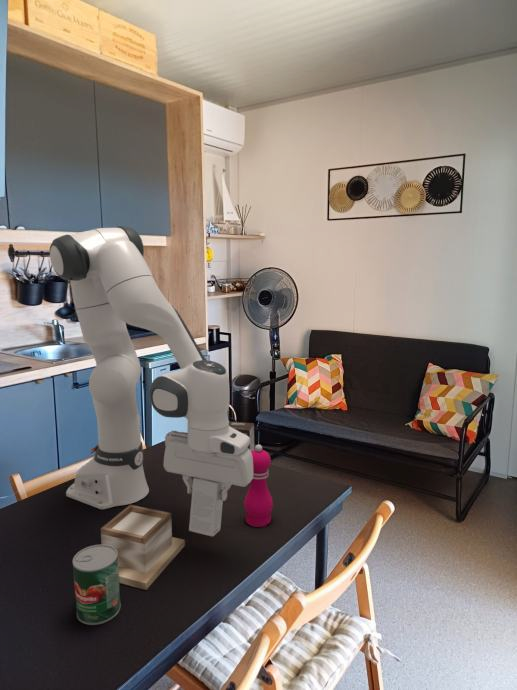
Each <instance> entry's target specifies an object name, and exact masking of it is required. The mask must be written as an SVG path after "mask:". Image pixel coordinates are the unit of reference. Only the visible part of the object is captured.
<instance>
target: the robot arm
mask: <svg viewBox="0 0 517 690" xmlns="http://www.w3.org/2000/svg"><path fill="white" fill-rule="evenodd" d="M144 250H145V248H144V243H143V240H142V238H141V235H140V234H139V232H137V230H135V228H133V227H129V226H125V225H124V226H122V225H121V226H119V225H118V226H116V227H100V228H92V229H90V230H86V231H81V232H80V231H79V232H75V233H73V234H63V235H61V236H58V237H56V238H54V239H53V240H52V242H51V244H50V246H49V259H50V263H51V266H52V268H53V271H54V272H55V273H56V275H57V276H58V277H59V278H61V279H63V280H64V281H70V285H71V287H70V288H71V294H72V300H73V304H74V308H75V312H76V316H77V320H78V323H79V327H80V331H81V334H82V337H83V340H84V341H85V343H86V344H87V346H88V348H89V350H90V351H91V353H92V356H93V358H94V361H95V364H96V365H95V367H94V368H93V370H92V371H91V373H90V376H89V381H88V390H89V393H90V396H91V398H92V404H93V408H94V411H95V416H96V423H97V440H98V441H97V442H98V443H97V445H95V447H92V448H91V449H90V451H91V452H90V454H93V453H95V454H94V455H93V458H92V459H90V460H89V461H87V462H86V463H85V464H83V465H82V466H81V467H80V468H79V469H78V470H77V472H76V474H75V477H74V482H73V483H72V484H71V485H70V486H69V487H68V488H67V489H66V492H65V496H66V497H68V498H70V499H73V500H76V501H78V502H81V503H83V504H86V505H89V506H91V507H94V508H97V509H99V510H106V509H110V508H113V507H119V506H126V505H132V504H133V503H137V502H139V501H140V500H142V499H144V498H146V496H148V494H149V492H150V488H149V485H148V483H147V479H146V475H145V471H144V466H143V463H144V448H143V446H144V445H143V442H142V439H141V437H142V436H141V416H140V413H139V407H138V402H137V394H136V391H137V390H136V389H137V387H136V386H137V383H138V382H139V379H140V378H141V373H142V369H141V368H142V367H141V363H140V360H139V358H138V355H137V352H136V349H135V346H134V343H133V342H132V339H131V336H130V334H129V331H128V328H127V324H128V325H129V326H132V327H136V328H140V329H144V330H147V331H150V332H151V333H152V332H153V333H154V334H157V335H158V336H159V337H161V338H162V340H164V342H165V343H166V345H167V347H168V348H169V350H170V351H171V353H172V355H173V357H174V359H175V361H176V362H177V364H178V366H179V368H180V369H178V370H173V371H170V372H166V373H163V374H161V375H159V376H157V377H155V379H153V380H152V382H151V384H150V387H149V400H150V403H151V405H152V407H153V409H154V411H156V413H157V414H159V415H160V416H162V417H165V418H176V419H177V418H179V419H180V418H185V419H186V420H187V431H186V432H184V431H177V430H171V431H169V432H167V433H166V434H165V436H164V446H165V450H164V454H163V455H164V456H163V468H164V470H165V471H166V472H168V473H172V474H178V475H181V476H182V480H183V482H184V484H185V486H186V490H187V491H186V492H187V494H190V495H192V489H193V479H192V477H193V478H194V477H197V478H202V479H207V480H212V481H217V482H222V483H223V487H224V490H222V489H221V490H220V491H219V492H218V500H222V501H223V502H225V501H226V500H227V498H228V491H229V490H230V489H231V486H238V487H241V488H242V487H243V488H245V487H247V486H248V485H249V484H250V482H251V480H252V479H253V458H252V453H251V451H250V450H249V449H248V448H247V447H248V446H249V444H250V438H249V437H248V436H247V435H245V434H243V433H241V432H239V431H237V430H235V429H233V428H232V427H230V426H229V421H230V420H229V416H228V412H229V406H230V399H231V398H230V396H231V395H230V394H231V393H230V379H229V378H230V377H229V373H228V371H227V369H226V367H225V366H224V365H223V364H221V363H219V362H217V361H213V360H207V358H206V356H204V354H203V352H202V351H201V349H200V347H199V346H198V344H197V342H196V340H195V339H194V337H193V335H192V334H191V332H190V330H189V328H188V326H187V324H186V323H185V321H184V319H183V318H182V316H181V315H180V312H178V310H177V309H176V308H175V307H174V306H173V305H172V304H171V302H169V300H167V298H166V297H165V296H164V294H163V293H162V291H161V290H160V288H159V286H158V284H157V283H156V280H155V279H154V278H155V277H154V275H153V273H152V272H151V269H150V267H149V265H148V264H147V261H146V260H145V258H144V255H145V254H144V253H145V251H144Z"/></svg>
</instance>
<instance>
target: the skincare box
mask: <svg viewBox="0 0 517 690" xmlns="http://www.w3.org/2000/svg"><path fill="white" fill-rule="evenodd" d="M192 481H193V489H192V494H191V504H190V512H189V525H188V531H189V532H192V533H196V534H199V535H200V534H201V535H205V536H209V537H214V536H216V534H217V533H218V532H220V531H221V527H222V526H221V524H222V514H223V502H224V501H222V500H218V492H219V491H220V490H221V489H222V490H224V489H225V487H223V483H222V482H217V481H212V480H207V479H202V478H197V477H193V479H192Z"/></svg>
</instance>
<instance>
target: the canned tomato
mask: <svg viewBox="0 0 517 690" xmlns="http://www.w3.org/2000/svg"><path fill="white" fill-rule="evenodd" d="M72 569H73V580H74V581H73V583H74V593H75V594H74V596H75V607H76V609H75V610H76V618H77V620H78V621H79V622H80V623H82V624H84V625H87V626H88V625H89V626H97V625H102V624H105V623H107V622H109V621H110V620H113V619H114V618H115V617H116V616H117V615H118V614H119V613H120V611H121V607H122V604H121V594H120V593H121V591H120V588H121V587H120V583H119V572H118V552H117V550H116V549H115V548H114V547H112V546H109V545H102V544H94V545H90V546H86V547H85V548H83V549H80V550H79V551H78V552H76V554H75V555H74V556H73V558H72Z"/></svg>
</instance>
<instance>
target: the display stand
mask: <svg viewBox="0 0 517 690" xmlns="http://www.w3.org/2000/svg"><path fill="white" fill-rule="evenodd" d="M172 531H173V529H172V512H167V511H163V510H160V509H159V510H158V509H154V508H153V509H152V508H147V507H142V506H140V505H139V506H138V505H134V504H128V506H126V507H125V508H124V509H122V511H121V512H119V513H118V514H117V515H116V516H114V517H113V518H112V519H110V521H108V522H107V523H106V524H104V525H103V526H102V527H101V528H100V541H101V542H100V543H101V544H100V545H109V546H112V547H114V548H115V549H116V550H117V552H118V572H119V584H123V585H126V586H130V587H132V588H133V587H134V588H137V589H141V590H145V591H146V590H148V589H149V588H150V587H151V586H152V585H153V583H154V582H155V581H156V580H157V578H158V577H159V576H160V574H162V572H163V571H164V570H165V569H166V568H167V567H168V566H169V564H170V563H171V562H172V561H173V560H174V559H175V558H176V557H177V555H179V553H180V552H181V551H182V549H183V548H184V547H185V545H186V544H185V543H186V540H185V539H183V538H177V537H173V532H172Z"/></svg>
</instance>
